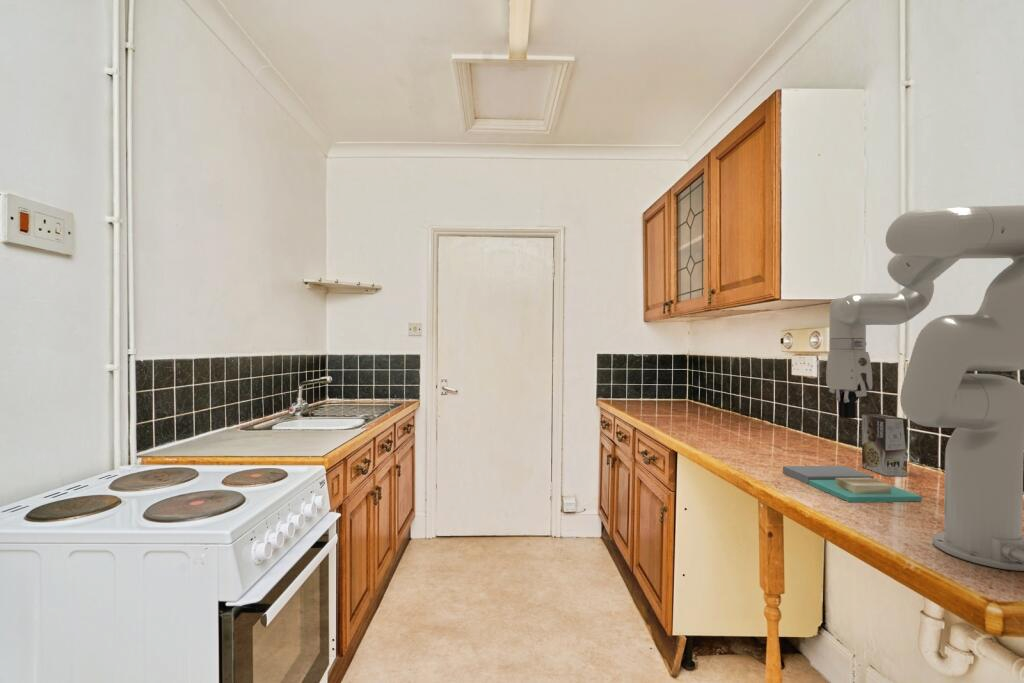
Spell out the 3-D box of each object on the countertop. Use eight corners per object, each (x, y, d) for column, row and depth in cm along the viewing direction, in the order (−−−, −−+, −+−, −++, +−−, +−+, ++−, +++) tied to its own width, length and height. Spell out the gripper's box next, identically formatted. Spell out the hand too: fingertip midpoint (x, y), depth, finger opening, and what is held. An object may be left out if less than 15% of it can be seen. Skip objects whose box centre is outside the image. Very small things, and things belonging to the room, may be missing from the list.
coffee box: (908, 476, 126) (909, 418, 126) (885, 476, 126) (885, 418, 126) (882, 467, 135) (882, 413, 135) (860, 467, 135) (861, 413, 135)
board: (873, 483, 119) (873, 476, 119) (807, 484, 118) (807, 476, 118) (843, 472, 129) (843, 465, 129) (782, 473, 128) (782, 466, 128)
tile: (891, 493, 108) (891, 485, 108) (854, 493, 107) (854, 485, 107) (869, 485, 114) (870, 477, 114) (835, 485, 113) (835, 477, 113)
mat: (921, 501, 106) (921, 496, 106) (848, 502, 105) (848, 497, 105) (874, 484, 119) (874, 479, 119) (808, 484, 118) (808, 480, 118)
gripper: (886, 346, 108) (886, 422, 108) (838, 346, 123) (838, 413, 123) (857, 345, 108) (856, 422, 108) (812, 345, 123) (811, 413, 123)
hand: (847, 417), depth 115 cm, fingers closed
